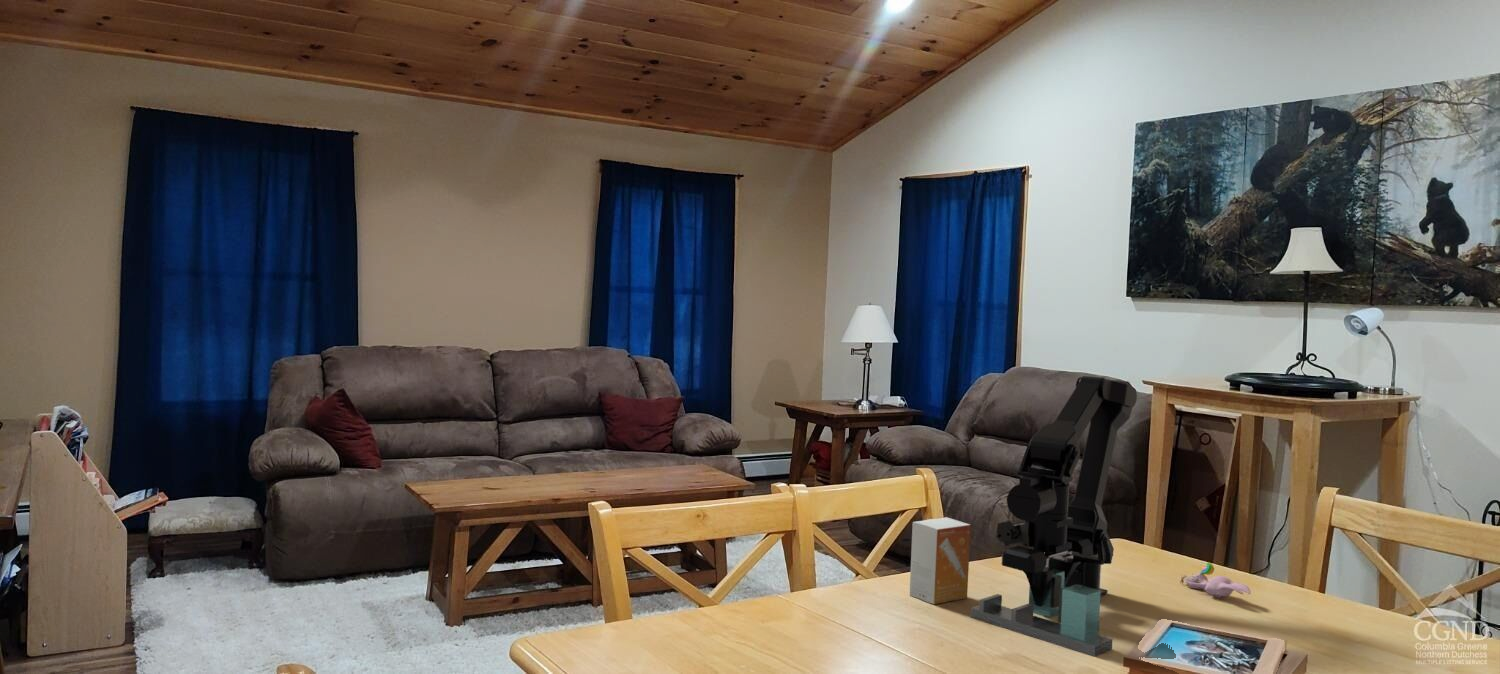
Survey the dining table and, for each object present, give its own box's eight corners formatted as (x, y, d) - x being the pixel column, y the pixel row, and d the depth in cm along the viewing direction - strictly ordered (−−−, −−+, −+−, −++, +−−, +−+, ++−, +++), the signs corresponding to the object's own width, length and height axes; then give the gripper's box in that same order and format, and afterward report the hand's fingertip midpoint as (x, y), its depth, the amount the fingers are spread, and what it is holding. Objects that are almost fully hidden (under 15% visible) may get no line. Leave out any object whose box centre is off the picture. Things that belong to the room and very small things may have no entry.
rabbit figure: (1173, 592, 188) (1231, 604, 174) (1171, 559, 189) (1229, 568, 174) (1201, 591, 190) (1262, 602, 175) (1199, 558, 190) (1259, 567, 176)
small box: (934, 605, 172) (937, 529, 171) (908, 595, 177) (911, 521, 176) (968, 598, 176) (971, 524, 175) (942, 588, 181) (945, 516, 181)
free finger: (1041, 606, 173) (1043, 565, 172) (1066, 613, 169) (1068, 572, 169) (1028, 611, 170) (1030, 569, 170) (1052, 618, 167) (1054, 576, 166)
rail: (988, 611, 169) (990, 560, 169) (1112, 649, 153) (1114, 593, 153) (970, 617, 166) (972, 565, 166) (1094, 656, 150) (1097, 599, 149)
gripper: (1038, 495, 181) (1035, 582, 182) (976, 508, 169) (972, 601, 170) (1096, 507, 173) (1092, 597, 174) (1034, 521, 160) (1030, 619, 161)
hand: (1045, 603), depth 170 cm, fingers closed on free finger, 4 cm apart
